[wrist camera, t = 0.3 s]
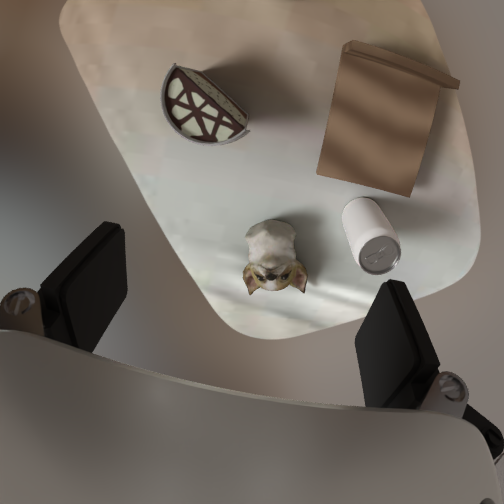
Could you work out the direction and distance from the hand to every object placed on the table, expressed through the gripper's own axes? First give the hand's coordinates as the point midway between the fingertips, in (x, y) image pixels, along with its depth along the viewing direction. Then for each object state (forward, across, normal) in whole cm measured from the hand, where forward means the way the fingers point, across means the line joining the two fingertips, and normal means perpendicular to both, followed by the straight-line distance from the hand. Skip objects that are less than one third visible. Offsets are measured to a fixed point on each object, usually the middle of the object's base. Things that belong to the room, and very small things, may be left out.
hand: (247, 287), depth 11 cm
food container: (+36, +10, -2) cm, 37 cm away
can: (+36, -16, +10) cm, 41 cm away
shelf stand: (+36, -13, -5) cm, 38 cm away
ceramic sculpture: (+36, -4, +19) cm, 41 cm away
